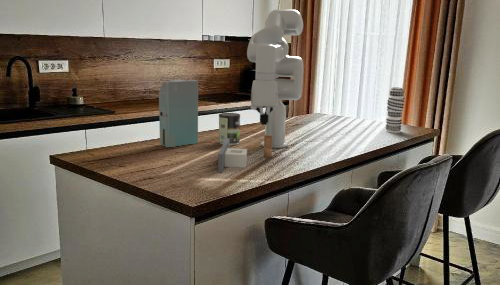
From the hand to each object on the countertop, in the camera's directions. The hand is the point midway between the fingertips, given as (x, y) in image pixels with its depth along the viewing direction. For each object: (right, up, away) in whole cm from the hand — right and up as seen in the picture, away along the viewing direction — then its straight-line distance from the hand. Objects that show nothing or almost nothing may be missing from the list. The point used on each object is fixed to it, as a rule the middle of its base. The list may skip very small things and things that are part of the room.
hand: (263, 124), depth 180 cm
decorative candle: (+77, -1, +84) cm, 113 cm away
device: (-39, -8, +37) cm, 54 cm away
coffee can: (-16, -8, +43) cm, 46 cm away
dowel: (+2, -14, +15) cm, 20 cm away
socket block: (-11, -16, +2) cm, 19 cm away
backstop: (-7, -16, +2) cm, 18 cm away
